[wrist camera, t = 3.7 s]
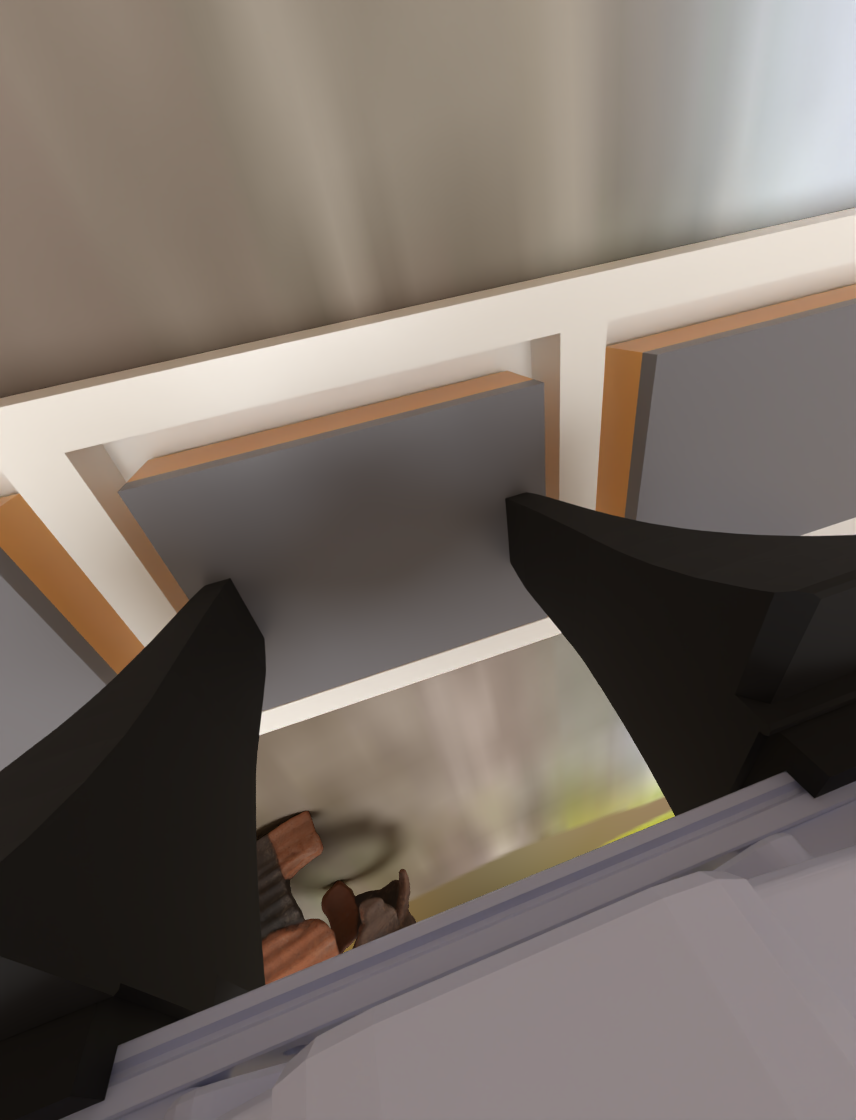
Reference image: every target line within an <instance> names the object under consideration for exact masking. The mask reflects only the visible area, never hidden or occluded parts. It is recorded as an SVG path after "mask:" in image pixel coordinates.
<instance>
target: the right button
mask: <svg viewBox="0 0 856 1120" xmlns="http://www.w3.org/2000/svg"><path fill="white" fill-rule="evenodd" d="M595 511H599V512H603V513H606V514H610V515H615V516H619V517H623V518H628V519H632V520H637V521H642V522H647V523H652V524H658V525H665V526H671V527H678V528H684V529H693V530H701V531H713V532H724V533H735V534H754V535H784V536H801V535H804V534H807V533H810V532H813V531H816V530H819V529H822V528H825V527H828V526H831V525H834V524H837V523H840V522H843V521H846V520H849V519H852V518H855V517H856V284H855V285H851V286H847V287H843V288H839V289H835V290H831V291H827V292H823V293H819V294H815V295H811V296H807V297H803V298H799V299H795V300H791V301H787V302H783V303H779V304H775V305H771V306H767V307H763V308H759V309H755V310H751V311H747V312H743V313H739V314H735V315H731V316H727V317H723V318H719V319H715V320H711V321H707V322H703V323H699V324H695V325H691V326H687V327H683V328H679V329H675V330H671V331H667V332H663V333H659V334H655V335H651V336H647V337H643V338H639V339H635V340H631V341H627V342H623V343H619V344H615V345H611V346H607V347H606V352H605V368H604V384H603V399H602V415H601V431H600V447H599V462H598V478H597V494H596V510H595Z"/></svg>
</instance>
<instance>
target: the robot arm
mask: <svg viewBox="0 0 856 1120" xmlns="http://www.w3.org/2000/svg"><path fill="white" fill-rule="evenodd" d="M505 503H506V516H507V529H508V542H509V555H510V563H511V565H512V567H513V568H514V570H515V572H516V574H517V575H518V577H519V579H520V580H521V582H522V584H523V585H524V587H525V588H526V590H527V591H528V592H529V593H530V595H531V596H532V597H533V598H534V600H535V601H536V602H537V603H538V605H539V606H540V607H541V608H542V610H543V611H544V612H545V613H546V614H547V616H548V617H549V618H550V619H551V620H552V622H553V623H554V624H555V625H556V627H557V628H558V629H559V630H560V631H561V633H562V634H563V635H564V636H565V637H566V639H567V640H568V641H569V642H570V644H571V645H572V646H573V647H574V649H575V650H576V651H577V653H578V654H579V655H580V657H581V658H582V659H583V661H584V662H585V664H586V665H587V667H588V668H589V670H590V671H591V673H592V674H593V676H594V678H595V679H596V681H597V682H598V684H599V685H600V687H601V688H602V690H603V691H604V693H605V695H606V696H607V698H608V699H609V701H610V703H611V704H612V706H613V708H614V709H615V711H616V712H617V714H618V716H619V717H620V719H621V721H622V722H623V724H624V725H625V727H626V729H627V731H628V732H629V734H630V736H631V737H632V739H633V741H634V743H635V744H636V746H637V748H638V750H639V751H640V753H641V755H642V756H643V758H644V760H645V762H646V763H647V765H648V767H649V769H650V770H651V772H652V774H653V776H654V778H655V780H656V781H657V783H658V785H659V787H660V789H661V791H662V793H663V794H664V796H665V798H666V800H667V802H668V804H669V805H670V807H671V809H672V811H673V813H674V815H675V817H673V818H670V819H668V820H665V821H663V822H660V823H658V824H656V825H653V826H651V827H648V828H646V829H643V830H641V831H639V832H636V833H634V834H631V835H629V836H626V837H624V838H622V839H619V840H617V841H614V842H612V843H609V844H607V845H604V846H602V847H600V848H597V849H595V850H592V851H590V852H588V853H585V854H583V855H580V856H578V857H575V858H573V859H571V860H568V861H566V862H563V863H561V864H558V865H556V866H553V867H551V868H549V869H546V870H544V871H541V872H539V873H536V874H534V875H532V876H529V877H527V878H524V879H522V880H519V881H517V882H515V883H512V884H510V885H507V886H505V887H503V888H500V889H498V890H495V891H493V892H490V893H488V894H485V895H483V896H480V897H478V898H476V899H473V900H471V901H469V902H466V903H463V904H461V905H459V906H456V907H454V908H451V909H449V910H446V911H445V912H442V913H439V914H437V915H434V916H432V917H429V918H427V919H425V920H422V921H420V922H417V923H415V924H412V925H410V926H408V927H405V928H403V929H400V930H398V931H395V932H393V933H391V934H388V935H386V936H383V937H381V938H378V939H376V940H373V941H371V942H369V943H366V944H364V945H361V946H359V947H356V948H354V949H352V950H350V951H347V952H344V953H342V954H339V955H337V956H335V957H332V958H330V959H327V960H325V961H322V962H320V963H318V964H315V965H313V966H310V967H308V968H305V969H303V970H301V971H298V972H296V973H293V974H291V975H288V976H286V977H284V978H281V979H279V980H276V981H274V982H271V983H269V984H266V985H265V975H264V963H263V950H262V938H261V925H260V910H259V891H258V872H257V844H256V763H257V750H258V742H259V733H260V724H261V715H262V706H263V697H264V688H265V678H266V654H265V638H264V636H263V635H262V633H261V631H260V629H259V628H258V626H257V624H256V622H255V621H254V619H253V617H252V615H251V614H250V612H249V610H248V608H247V606H246V605H245V603H244V601H243V599H242V598H241V596H240V594H239V592H238V591H237V589H236V587H235V585H234V584H233V582H232V580H231V578H229V579H225V580H222V581H218V582H215V583H212V584H208V585H205V586H204V587H202V588H201V589H200V590H199V591H198V592H197V593H196V594H195V595H194V596H193V597H192V598H191V599H190V600H189V601H188V602H187V603H186V604H185V605H184V606H183V607H182V609H181V610H180V611H179V612H178V613H177V614H176V615H175V616H174V617H173V618H172V619H171V620H170V621H169V623H168V624H167V625H166V626H165V627H164V628H163V629H162V630H161V631H160V632H159V633H158V634H157V635H156V636H155V638H154V639H153V640H152V641H151V642H150V643H149V644H148V645H147V646H146V647H145V648H144V649H143V650H142V651H141V652H140V653H139V654H138V655H137V656H136V657H135V658H134V659H133V660H132V661H131V662H130V663H129V664H128V665H127V666H126V667H125V668H124V669H123V670H122V671H121V672H120V673H119V674H118V675H117V676H116V677H115V678H114V679H113V680H112V681H110V682H109V683H108V684H107V685H106V686H105V687H104V688H103V689H102V690H101V691H100V692H98V693H97V694H96V695H95V696H94V697H93V698H92V699H91V700H89V701H88V702H87V703H86V704H85V705H84V706H82V707H81V708H80V709H79V710H78V711H77V712H75V713H74V714H73V715H72V716H71V717H70V718H68V719H67V720H66V721H65V722H63V723H62V724H61V725H60V726H59V727H57V728H56V729H55V730H54V731H52V732H51V733H50V734H48V735H47V736H46V737H44V738H43V739H42V740H40V741H39V742H38V743H37V744H35V745H34V746H33V747H31V748H30V749H29V750H27V751H26V752H25V753H23V754H22V755H21V756H20V757H18V758H17V759H16V760H14V761H13V762H12V763H10V764H9V765H8V766H7V767H5V768H4V769H3V770H1V771H0V1120H856V534H855V535H833V536H784V535H754V534H735V533H724V532H713V531H701V530H693V529H684V528H678V527H671V526H665V525H658V524H652V523H647V522H642V521H637V520H632V519H628V518H623V517H619V516H615V515H610V514H606V513H603V512H599V511H595V510H591V509H588V508H584V507H581V506H577V505H574V504H570V503H567V502H563V501H560V500H556V499H553V498H550V497H546V496H542V495H538V494H534V493H528V492H526V493H522V494H519V495H515V496H512V497H509V498H505Z"/></svg>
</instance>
